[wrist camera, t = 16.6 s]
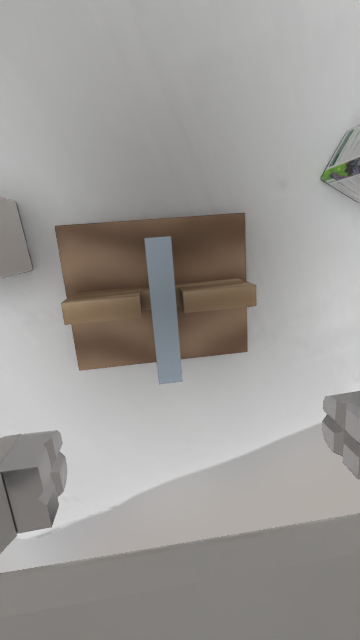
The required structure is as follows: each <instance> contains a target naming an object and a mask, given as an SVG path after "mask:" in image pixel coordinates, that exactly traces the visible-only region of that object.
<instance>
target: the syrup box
mask: <svg viewBox="0 0 360 640" xmlns="http://www.w3.org/2000/svg"><path fill="white" fill-rule="evenodd" d="M321 179H322V180H323V181H325V182H326V183H328V184H329V185H331V186H333V187H334V188H336V189H337V190H339V191H341V192H342V193H344V194H346V195H347V196H349V197H351V198H352V199H354V200H355V201H357V202H360V125H359V126H356V127H355V128H353V129H351V130H349V131H348V132H346V134H345V136H344V138H343V140H342V142H341V143H340V145H339V147H338V148H337V150H336V152H335V154H334V156H333V157H332V159H331V161H330V163H329V165H328V166H327V168H326V170H325V172H324V174H323V176H322V177H321Z"/></svg>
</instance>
